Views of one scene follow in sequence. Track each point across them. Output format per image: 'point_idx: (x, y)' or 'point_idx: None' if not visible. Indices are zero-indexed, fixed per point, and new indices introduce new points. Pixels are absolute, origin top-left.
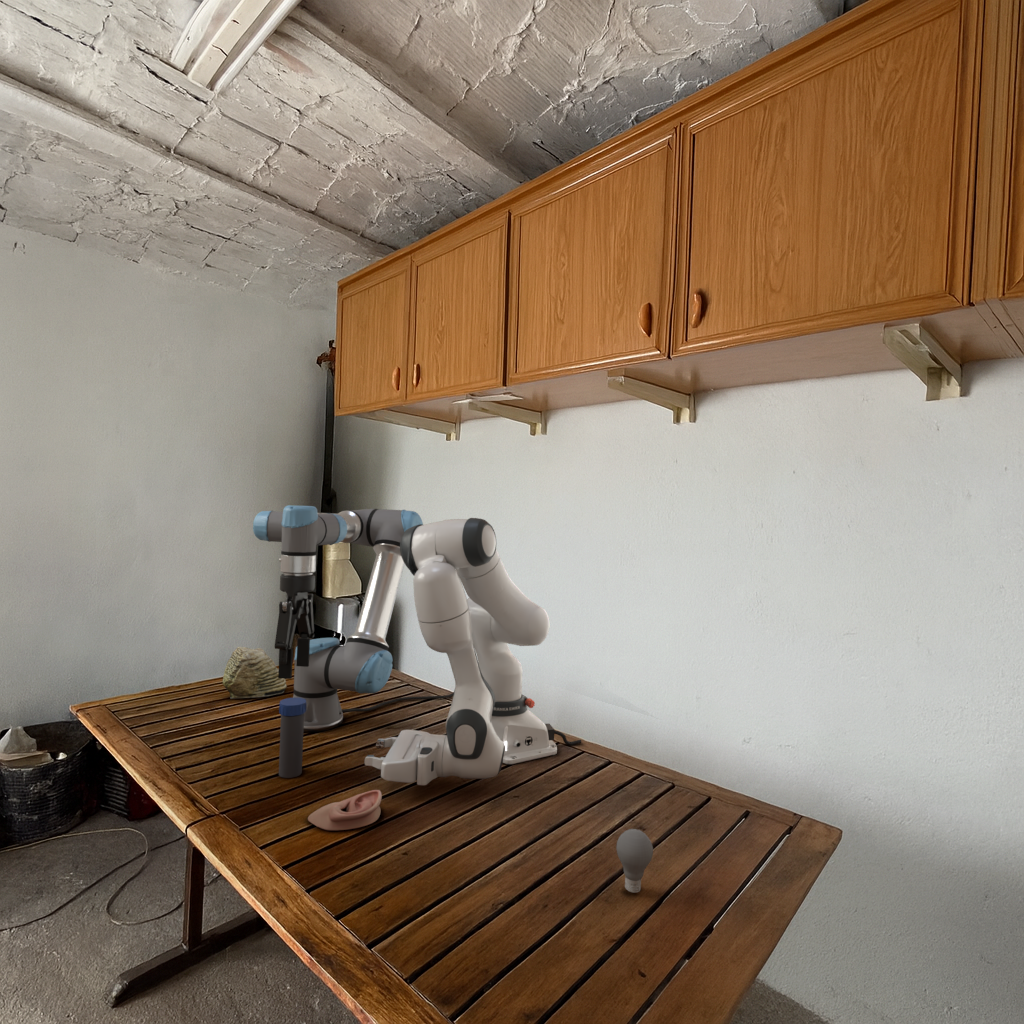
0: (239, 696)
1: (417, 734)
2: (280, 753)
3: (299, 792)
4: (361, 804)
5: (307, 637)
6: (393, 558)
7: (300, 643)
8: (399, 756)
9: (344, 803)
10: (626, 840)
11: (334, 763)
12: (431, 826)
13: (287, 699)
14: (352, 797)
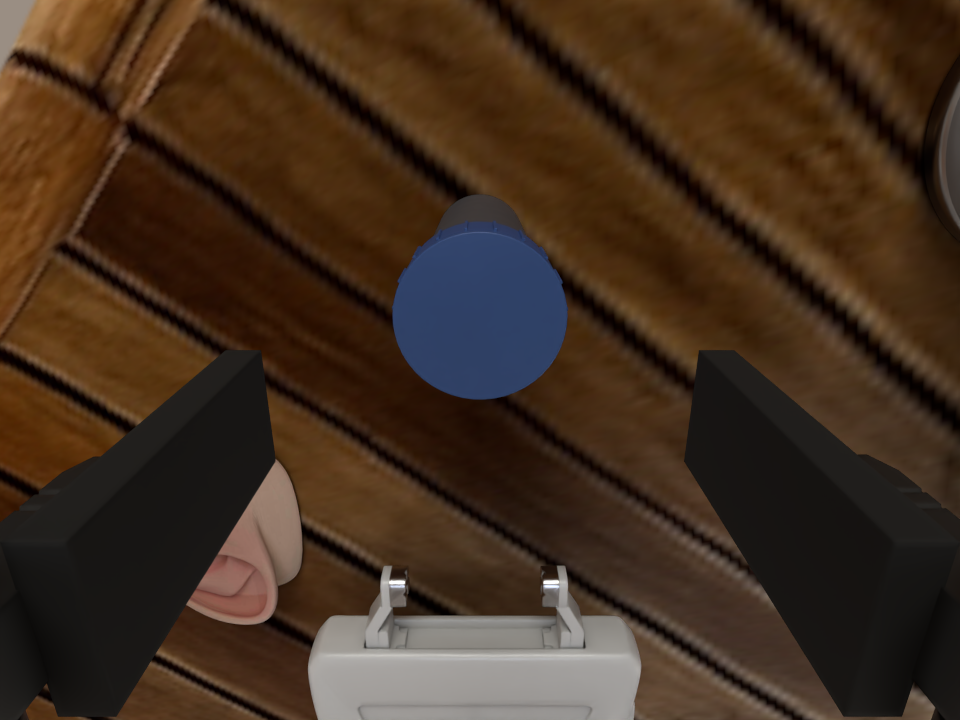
0: None
1: (591, 710)
2: (443, 220)
3: (339, 329)
4: (223, 567)
5: (938, 689)
6: None
7: (829, 536)
8: (376, 695)
9: None
10: None
11: (587, 365)
12: (243, 695)
13: (512, 267)
14: (238, 544)
